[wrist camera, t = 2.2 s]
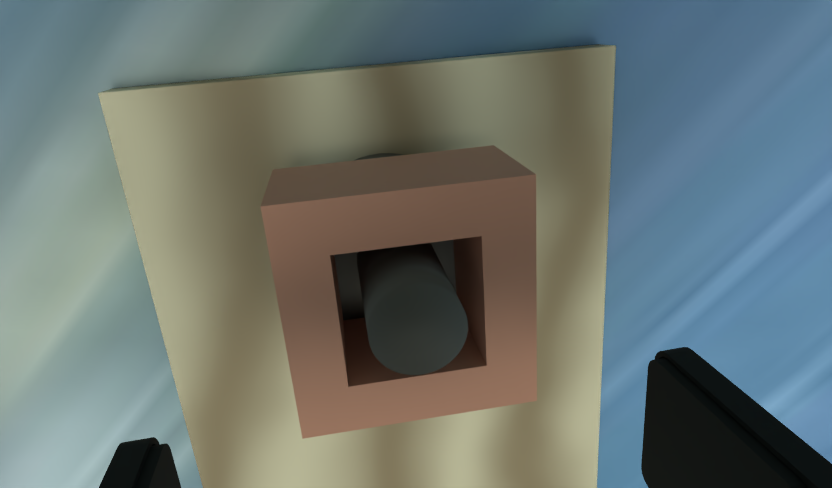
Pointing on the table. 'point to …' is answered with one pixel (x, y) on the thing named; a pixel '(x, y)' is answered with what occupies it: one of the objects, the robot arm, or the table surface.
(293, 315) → the collar
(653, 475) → the robot arm
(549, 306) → the board
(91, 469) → the table surface
